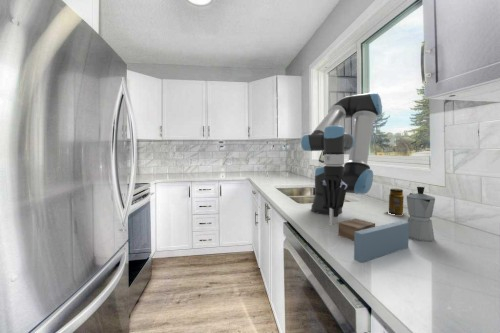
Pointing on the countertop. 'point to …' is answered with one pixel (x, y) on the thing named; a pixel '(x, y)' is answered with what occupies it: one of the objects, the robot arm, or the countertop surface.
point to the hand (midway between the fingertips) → (333, 223)
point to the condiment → (396, 202)
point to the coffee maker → (420, 216)
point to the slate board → (380, 240)
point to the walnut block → (352, 227)
